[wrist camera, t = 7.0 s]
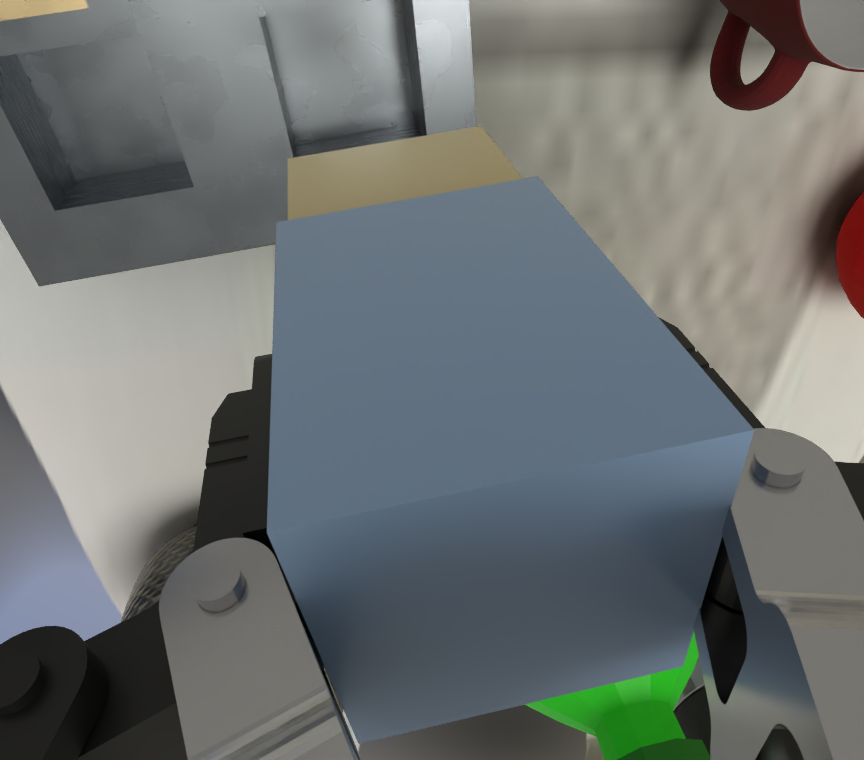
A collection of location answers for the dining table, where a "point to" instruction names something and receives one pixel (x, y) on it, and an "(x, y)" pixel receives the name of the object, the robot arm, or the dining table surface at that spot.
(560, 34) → the dining table surface
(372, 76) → the panel
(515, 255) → the plug
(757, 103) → the mug
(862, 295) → the tomato
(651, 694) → the plastic bottle
